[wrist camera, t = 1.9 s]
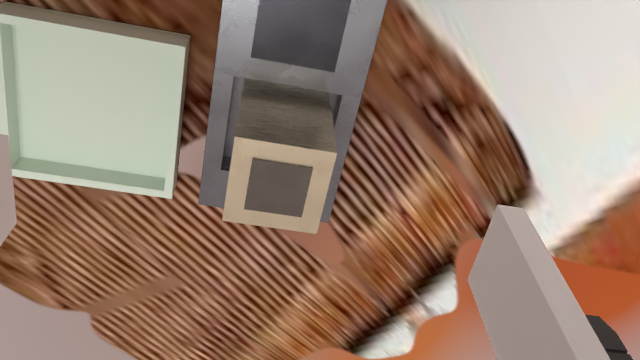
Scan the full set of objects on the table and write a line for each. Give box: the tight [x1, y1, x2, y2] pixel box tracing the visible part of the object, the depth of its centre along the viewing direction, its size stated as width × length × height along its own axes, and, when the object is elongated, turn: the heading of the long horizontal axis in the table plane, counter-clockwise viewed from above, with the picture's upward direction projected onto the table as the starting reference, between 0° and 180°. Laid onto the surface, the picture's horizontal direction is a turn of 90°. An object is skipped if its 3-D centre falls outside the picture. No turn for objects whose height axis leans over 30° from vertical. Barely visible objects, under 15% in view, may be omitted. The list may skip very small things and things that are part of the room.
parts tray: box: [0, 1, 191, 199], centre depth 41 cm, size 12×12×2 cm
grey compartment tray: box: [198, 0, 387, 223], centre depth 40 cm, size 10×24×3 cm, turn 168°
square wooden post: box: [222, 78, 337, 234], centre depth 39 cm, size 6×6×9 cm
